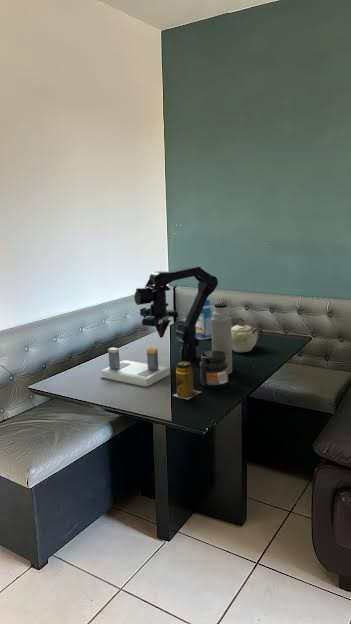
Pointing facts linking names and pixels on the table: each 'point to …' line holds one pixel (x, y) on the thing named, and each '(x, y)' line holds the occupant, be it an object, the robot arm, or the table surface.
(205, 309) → the beverage bottle
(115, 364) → the on handle
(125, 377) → the box
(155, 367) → the orange-capped grey pillar
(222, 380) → the supplement container
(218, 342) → the thermos bottle
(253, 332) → the sugar bowl
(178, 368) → the condiment
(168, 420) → the table surface
